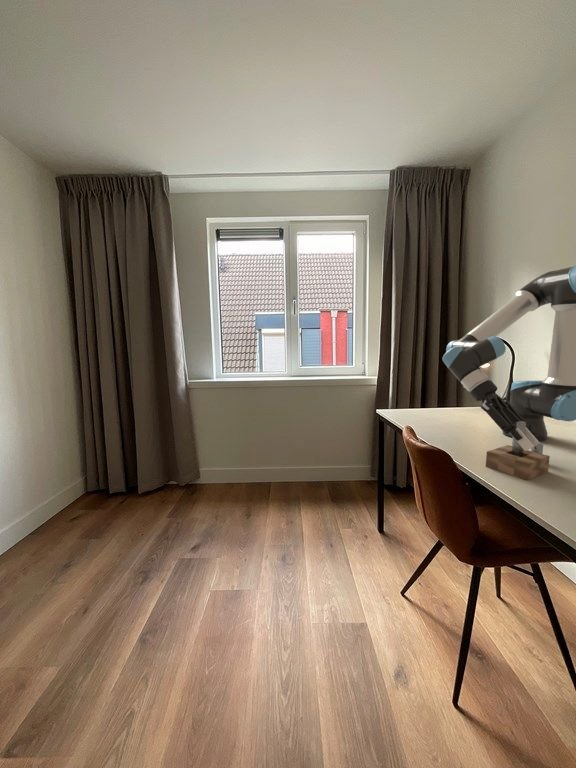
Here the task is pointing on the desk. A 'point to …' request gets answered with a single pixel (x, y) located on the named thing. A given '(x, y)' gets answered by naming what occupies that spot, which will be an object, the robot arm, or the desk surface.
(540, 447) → the short pin
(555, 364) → the robot arm
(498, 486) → the desk surface
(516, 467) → the block
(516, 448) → the long pin
